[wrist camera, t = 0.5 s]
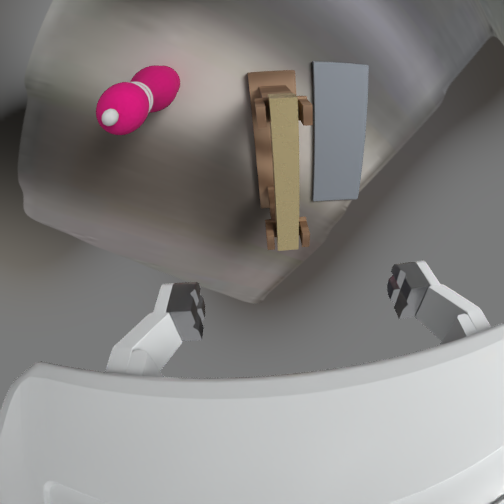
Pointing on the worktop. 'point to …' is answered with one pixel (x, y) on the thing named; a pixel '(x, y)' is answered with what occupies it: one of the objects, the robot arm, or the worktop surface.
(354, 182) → the slate mat
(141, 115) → the pepper mill
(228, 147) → the worktop surface
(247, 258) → the worktop surface
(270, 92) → the stand
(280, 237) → the brass rail
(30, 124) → the worktop surface
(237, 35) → the worktop surface
